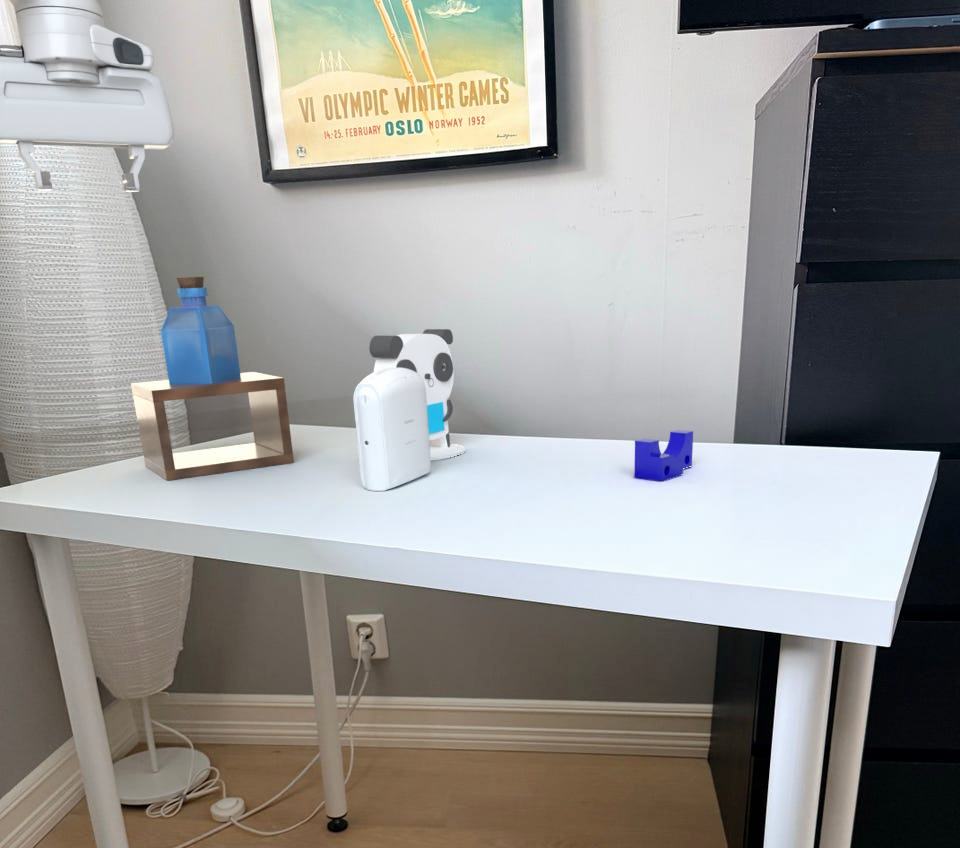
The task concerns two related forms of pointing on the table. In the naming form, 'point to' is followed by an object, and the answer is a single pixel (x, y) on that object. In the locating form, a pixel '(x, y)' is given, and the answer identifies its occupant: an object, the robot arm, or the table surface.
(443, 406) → the panda figurine
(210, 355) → the perfume bottle
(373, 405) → the photo printer
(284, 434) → the shelf rack
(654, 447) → the cable holder
